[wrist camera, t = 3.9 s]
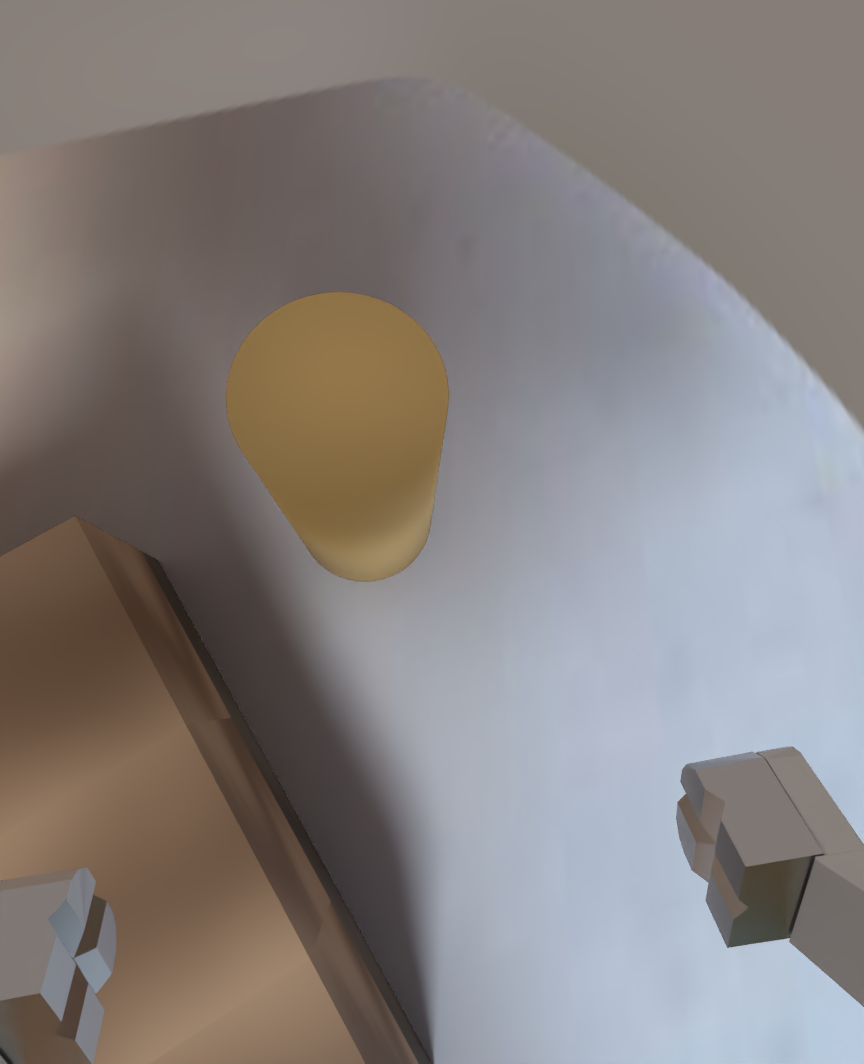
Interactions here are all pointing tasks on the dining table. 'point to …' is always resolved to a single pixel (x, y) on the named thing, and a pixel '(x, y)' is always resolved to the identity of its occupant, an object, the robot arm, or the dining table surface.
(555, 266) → the dining table surface
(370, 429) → the pin
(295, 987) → the bore block
